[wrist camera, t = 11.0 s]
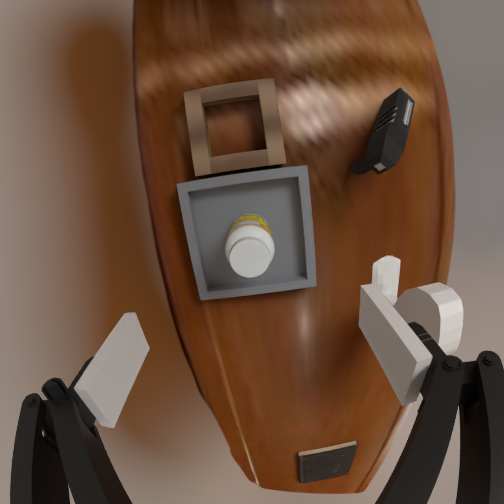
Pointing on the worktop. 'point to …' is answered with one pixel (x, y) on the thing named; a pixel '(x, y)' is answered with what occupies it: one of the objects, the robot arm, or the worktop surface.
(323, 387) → the worktop surface
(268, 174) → the tray
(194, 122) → the socket block
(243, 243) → the supplement bottle
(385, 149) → the gun
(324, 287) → the worktop surface
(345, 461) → the hardcover book
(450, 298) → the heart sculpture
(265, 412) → the worktop surface
